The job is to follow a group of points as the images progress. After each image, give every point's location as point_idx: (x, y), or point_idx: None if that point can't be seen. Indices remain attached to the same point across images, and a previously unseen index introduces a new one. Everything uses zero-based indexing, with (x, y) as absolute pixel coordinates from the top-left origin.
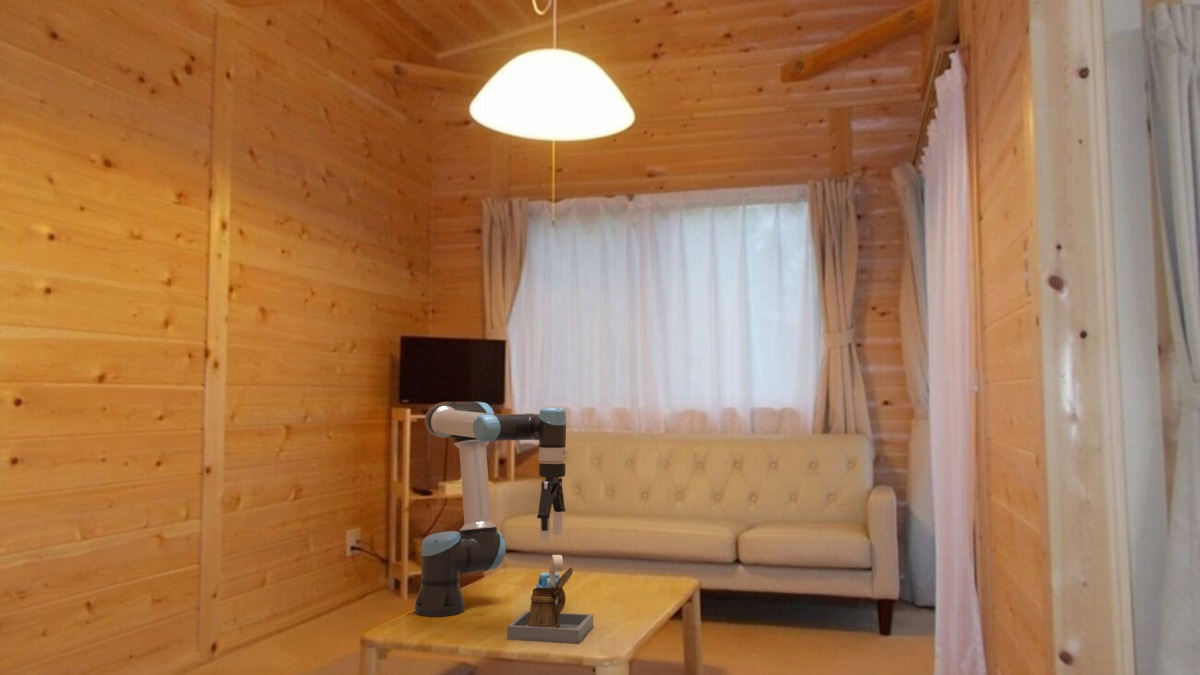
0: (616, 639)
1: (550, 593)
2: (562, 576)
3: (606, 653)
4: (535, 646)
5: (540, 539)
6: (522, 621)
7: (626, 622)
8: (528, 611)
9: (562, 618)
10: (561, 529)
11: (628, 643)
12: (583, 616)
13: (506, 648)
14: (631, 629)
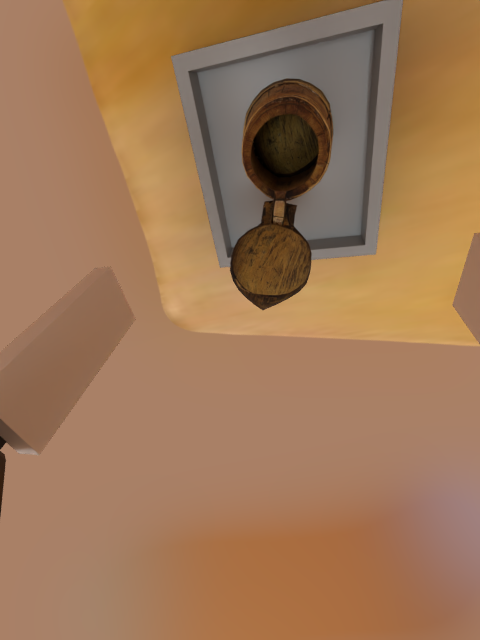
0: (278, 307)
1: (264, 192)
2: (231, 272)
3: (191, 311)
4: (166, 174)
5: (85, 279)
6: (297, 45)
7: (422, 297)
8: (394, 15)
9: (368, 167)
10: (473, 332)
11: (260, 328)
12: (365, 231)
13: (116, 108)
14: (360, 316)
